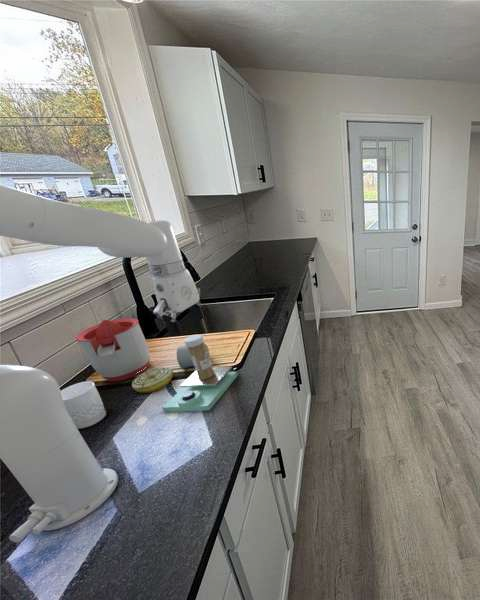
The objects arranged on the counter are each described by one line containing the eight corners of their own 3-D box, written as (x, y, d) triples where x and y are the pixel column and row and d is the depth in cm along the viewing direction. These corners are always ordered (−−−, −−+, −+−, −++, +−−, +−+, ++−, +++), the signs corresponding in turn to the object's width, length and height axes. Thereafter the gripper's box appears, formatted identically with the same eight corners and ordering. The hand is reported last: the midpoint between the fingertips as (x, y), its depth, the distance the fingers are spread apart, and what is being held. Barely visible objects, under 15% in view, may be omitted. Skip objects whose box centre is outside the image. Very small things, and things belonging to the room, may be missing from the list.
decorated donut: (167, 370, 107) (163, 361, 105) (180, 380, 101) (176, 371, 99) (130, 387, 99) (125, 377, 98) (142, 399, 93) (137, 389, 92)
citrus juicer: (90, 395, 97) (59, 339, 89) (106, 368, 111) (80, 317, 103) (151, 378, 103) (128, 324, 96) (159, 354, 118) (139, 305, 110)
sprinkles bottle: (214, 377, 95) (200, 339, 90) (197, 382, 94) (182, 343, 88) (215, 369, 99) (202, 332, 94) (199, 373, 98) (185, 336, 92)
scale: (208, 411, 87) (205, 402, 86) (163, 412, 87) (159, 404, 86) (237, 375, 102) (235, 367, 101) (199, 377, 102) (196, 369, 101)
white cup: (86, 432, 82) (68, 402, 78) (63, 429, 84) (44, 399, 80) (116, 411, 89) (101, 382, 85) (95, 408, 91) (79, 380, 87)
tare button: (190, 400, 87) (189, 396, 87) (181, 401, 87) (180, 397, 87) (196, 394, 90) (195, 390, 89) (187, 394, 90) (186, 391, 89)
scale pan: (216, 385, 92) (216, 384, 92) (180, 387, 93) (180, 385, 92) (232, 368, 101) (231, 366, 100) (199, 369, 101) (198, 367, 101)
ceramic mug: (208, 366, 108) (201, 346, 105) (181, 372, 105) (173, 353, 102) (212, 352, 117) (206, 333, 114) (187, 357, 114) (181, 339, 111)
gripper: (157, 277, 75) (179, 340, 81) (201, 259, 91) (217, 313, 97) (127, 279, 75) (152, 341, 81) (176, 261, 91) (194, 314, 98)
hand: (187, 326), depth 89 cm, fingers open, 9 cm apart
